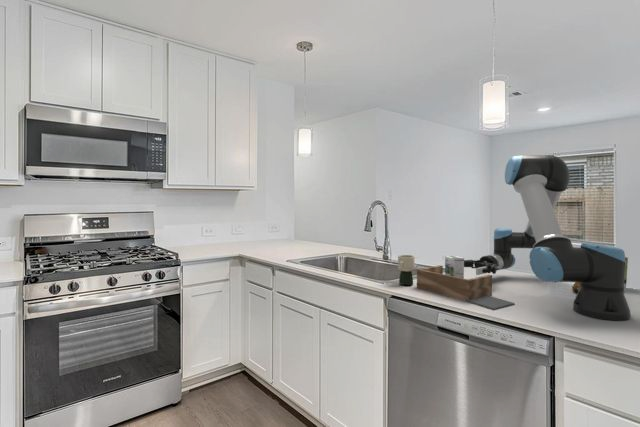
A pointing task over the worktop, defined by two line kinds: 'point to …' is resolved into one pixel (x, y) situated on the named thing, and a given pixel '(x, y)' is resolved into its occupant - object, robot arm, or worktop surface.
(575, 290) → the bread roll
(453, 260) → the syrup box
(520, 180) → the robot arm
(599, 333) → the worktop surface
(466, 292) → the wooden crate
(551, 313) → the worktop surface
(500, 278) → the worktop surface
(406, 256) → the character mug
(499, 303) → the mat
